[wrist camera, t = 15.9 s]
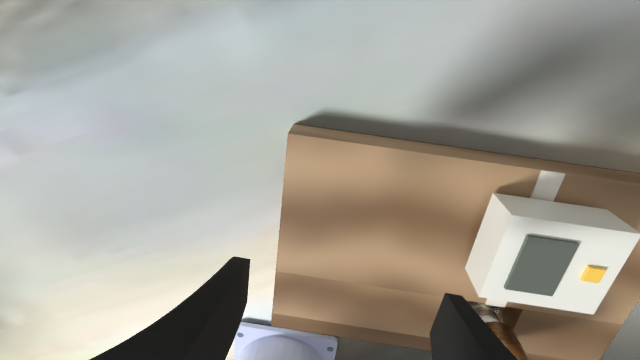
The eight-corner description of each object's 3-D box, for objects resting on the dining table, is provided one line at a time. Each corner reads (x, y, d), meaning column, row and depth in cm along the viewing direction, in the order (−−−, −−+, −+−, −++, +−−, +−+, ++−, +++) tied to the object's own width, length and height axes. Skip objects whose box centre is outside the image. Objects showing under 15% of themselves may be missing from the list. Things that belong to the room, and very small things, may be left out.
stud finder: (567, 283, 20) (596, 317, 18) (464, 268, 20) (480, 299, 18) (606, 209, 18) (645, 236, 16) (492, 192, 18) (513, 217, 16)
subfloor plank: (571, 350, 25) (589, 377, 23) (276, 304, 26) (270, 326, 24) (675, 178, 20) (710, 195, 18) (293, 123, 20) (287, 134, 18)
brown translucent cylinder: (489, 320, 25) (547, 442, 18) (450, 315, 25) (491, 434, 18) (501, 290, 24) (569, 407, 16) (460, 285, 24) (509, 398, 16)
